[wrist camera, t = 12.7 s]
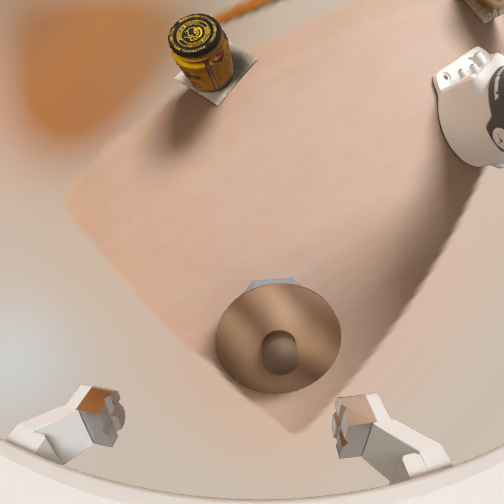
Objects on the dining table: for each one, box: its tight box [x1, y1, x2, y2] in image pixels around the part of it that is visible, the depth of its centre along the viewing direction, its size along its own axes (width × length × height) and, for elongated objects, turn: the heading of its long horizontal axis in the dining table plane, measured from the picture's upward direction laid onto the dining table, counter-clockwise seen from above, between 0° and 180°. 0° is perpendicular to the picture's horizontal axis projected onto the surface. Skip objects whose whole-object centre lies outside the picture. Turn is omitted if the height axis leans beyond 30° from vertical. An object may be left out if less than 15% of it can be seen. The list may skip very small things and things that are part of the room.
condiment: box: [168, 14, 258, 106], centre depth 29 cm, size 7×8×12 cm
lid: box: [215, 283, 341, 394], centre depth 34 cm, size 15×15×4 cm
